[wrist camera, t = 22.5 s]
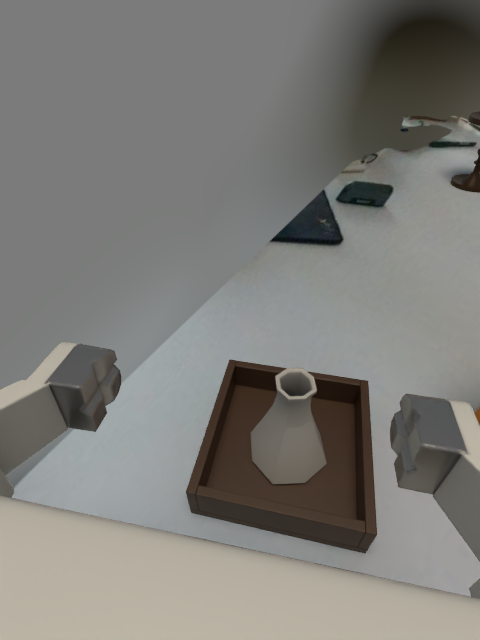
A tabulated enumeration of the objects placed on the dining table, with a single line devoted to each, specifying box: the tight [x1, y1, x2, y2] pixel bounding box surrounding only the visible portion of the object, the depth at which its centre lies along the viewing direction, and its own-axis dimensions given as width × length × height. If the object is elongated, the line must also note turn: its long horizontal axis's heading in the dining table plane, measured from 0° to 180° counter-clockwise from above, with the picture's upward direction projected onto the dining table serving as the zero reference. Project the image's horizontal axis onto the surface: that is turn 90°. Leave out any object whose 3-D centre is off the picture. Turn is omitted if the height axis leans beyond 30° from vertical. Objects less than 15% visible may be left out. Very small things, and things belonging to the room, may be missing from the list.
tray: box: [186, 360, 377, 553], centre depth 34 cm, size 15×15×4 cm
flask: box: [251, 368, 327, 484], centre depth 31 cm, size 7×7×10 cm
